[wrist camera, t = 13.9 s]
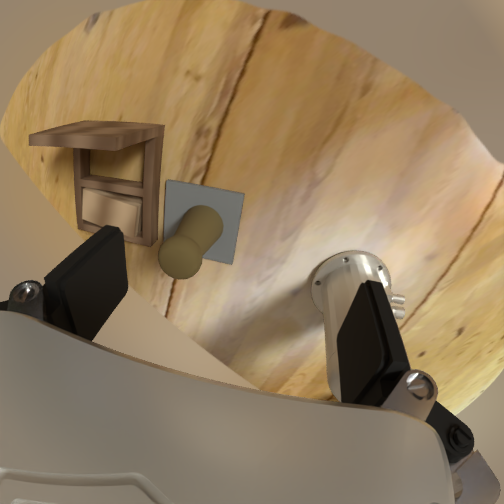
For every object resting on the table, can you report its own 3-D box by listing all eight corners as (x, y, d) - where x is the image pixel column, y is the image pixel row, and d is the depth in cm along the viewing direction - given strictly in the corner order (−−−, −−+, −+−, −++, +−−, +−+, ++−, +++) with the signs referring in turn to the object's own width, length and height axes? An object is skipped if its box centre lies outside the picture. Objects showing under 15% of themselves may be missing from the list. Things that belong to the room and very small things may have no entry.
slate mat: (244, 193, 38) (243, 195, 38) (232, 262, 44) (232, 264, 43) (168, 179, 39) (166, 180, 38) (164, 246, 44) (163, 248, 44)
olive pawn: (232, 230, 41) (211, 273, 31) (201, 250, 43) (175, 295, 34) (204, 196, 39) (174, 230, 29) (174, 220, 41) (140, 257, 32)
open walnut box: (164, 124, 35) (115, 137, 25) (157, 239, 44) (120, 282, 34) (84, 120, 36) (28, 135, 25) (86, 222, 44) (42, 256, 34)
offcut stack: (148, 198, 41) (137, 207, 38) (144, 228, 44) (133, 238, 41) (96, 181, 41) (83, 189, 38) (94, 210, 43) (82, 218, 40)
